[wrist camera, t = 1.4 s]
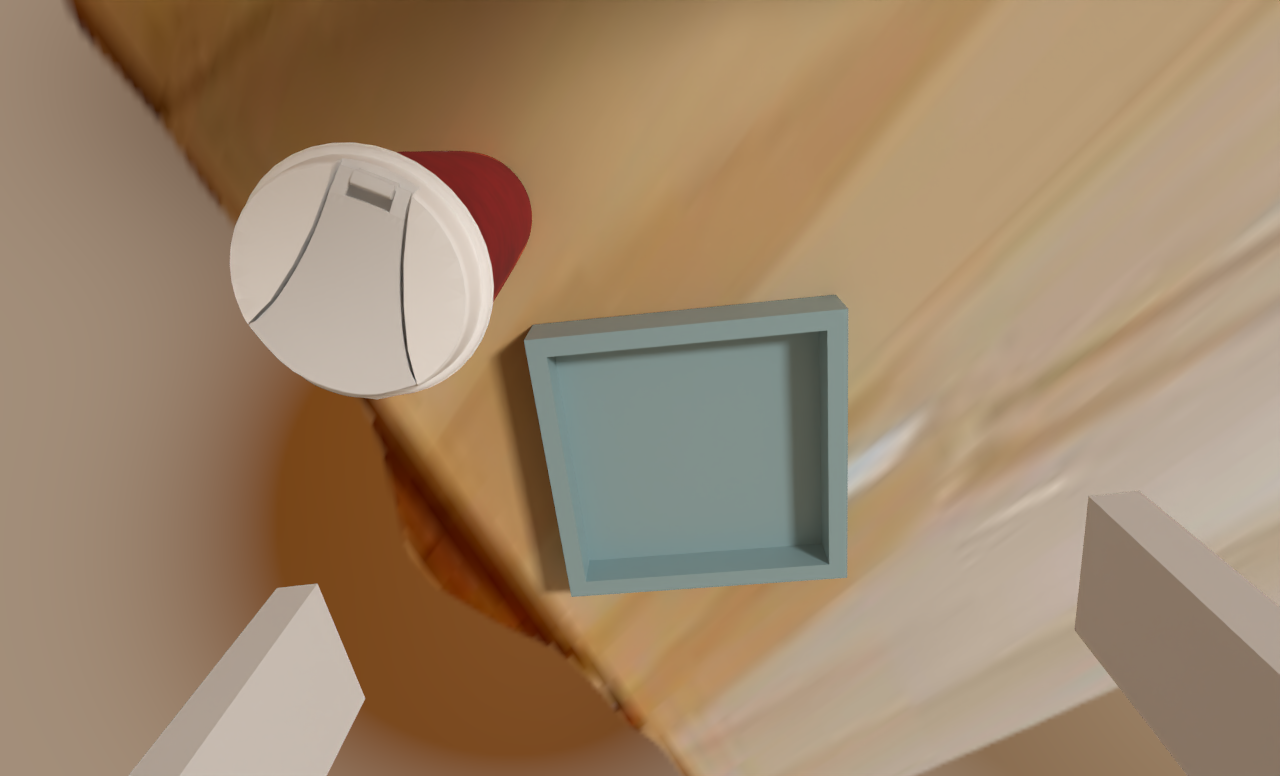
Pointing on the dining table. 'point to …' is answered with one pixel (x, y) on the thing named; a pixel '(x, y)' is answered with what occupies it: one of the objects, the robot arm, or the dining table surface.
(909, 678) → the dining table surface
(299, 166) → the coffee cup
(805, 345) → the tray
